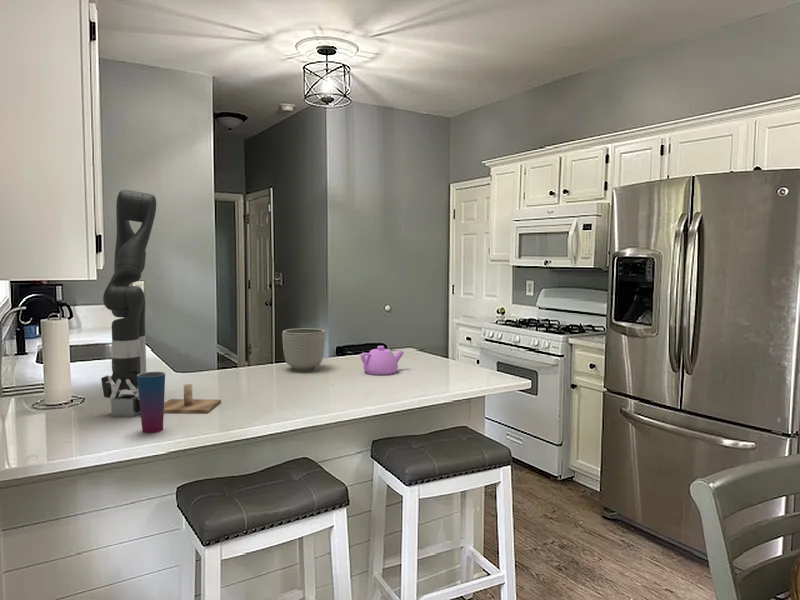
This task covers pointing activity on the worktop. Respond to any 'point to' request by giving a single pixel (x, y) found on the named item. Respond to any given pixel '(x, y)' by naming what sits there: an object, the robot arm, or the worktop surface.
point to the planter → (303, 348)
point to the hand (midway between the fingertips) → (127, 411)
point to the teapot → (381, 361)
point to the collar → (124, 406)
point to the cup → (151, 400)
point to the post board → (190, 408)
